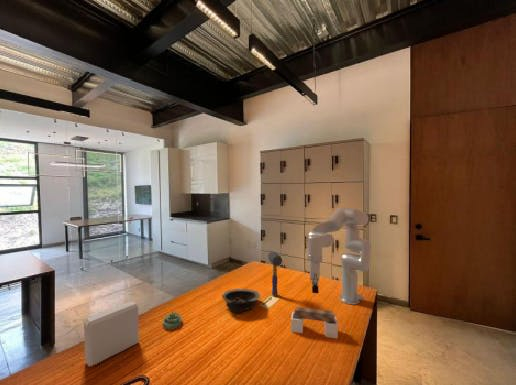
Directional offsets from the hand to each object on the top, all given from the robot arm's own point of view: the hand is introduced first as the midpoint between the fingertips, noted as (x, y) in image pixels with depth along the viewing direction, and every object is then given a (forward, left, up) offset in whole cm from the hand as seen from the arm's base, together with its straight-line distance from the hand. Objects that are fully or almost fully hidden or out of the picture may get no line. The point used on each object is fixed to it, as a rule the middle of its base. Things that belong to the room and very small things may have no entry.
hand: (315, 288), depth 128 cm
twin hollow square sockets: (+1, +4, -21) cm, 22 cm away
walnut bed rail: (0, +4, -17) cm, 18 cm away
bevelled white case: (+92, +41, -21) cm, 103 cm away
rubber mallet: (+27, -30, -21) cm, 45 cm away
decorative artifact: (+77, +16, -22) cm, 82 cm away
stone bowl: (+46, -12, -21) cm, 52 cm away
